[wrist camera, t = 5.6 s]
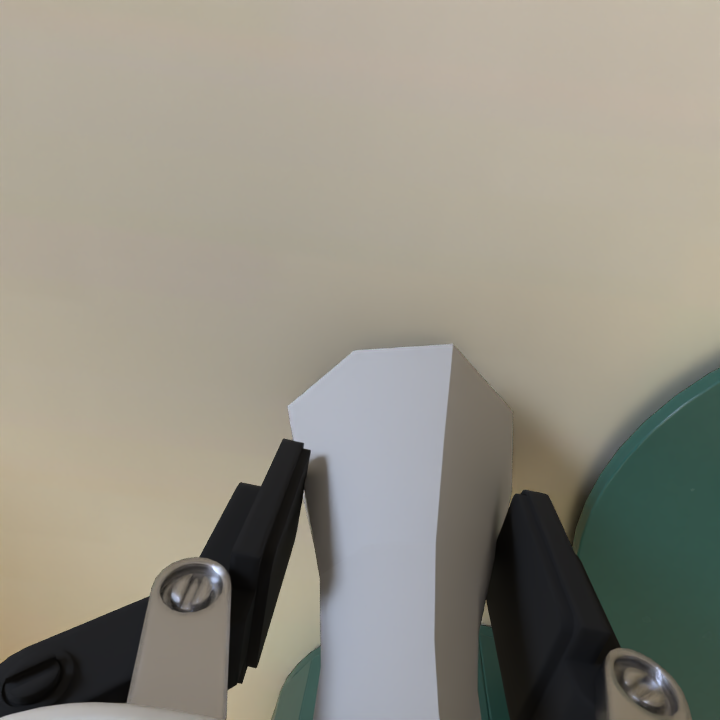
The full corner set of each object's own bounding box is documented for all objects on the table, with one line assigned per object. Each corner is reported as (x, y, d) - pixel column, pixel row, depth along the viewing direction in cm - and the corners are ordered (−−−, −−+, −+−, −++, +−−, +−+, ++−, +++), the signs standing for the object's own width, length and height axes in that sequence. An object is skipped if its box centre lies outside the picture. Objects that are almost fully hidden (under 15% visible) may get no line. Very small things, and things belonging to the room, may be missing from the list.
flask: (545, 499, 16) (757, 978, 6) (346, 557, 17) (279, 1009, 8) (471, 300, 13) (626, 581, 4) (251, 387, 15) (4, 732, 6)
